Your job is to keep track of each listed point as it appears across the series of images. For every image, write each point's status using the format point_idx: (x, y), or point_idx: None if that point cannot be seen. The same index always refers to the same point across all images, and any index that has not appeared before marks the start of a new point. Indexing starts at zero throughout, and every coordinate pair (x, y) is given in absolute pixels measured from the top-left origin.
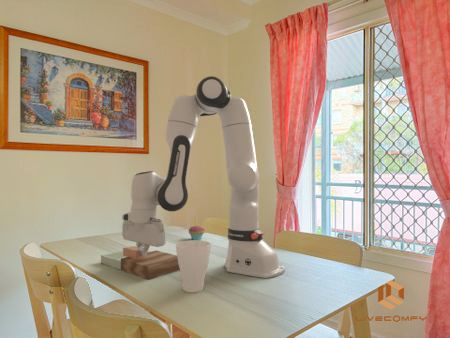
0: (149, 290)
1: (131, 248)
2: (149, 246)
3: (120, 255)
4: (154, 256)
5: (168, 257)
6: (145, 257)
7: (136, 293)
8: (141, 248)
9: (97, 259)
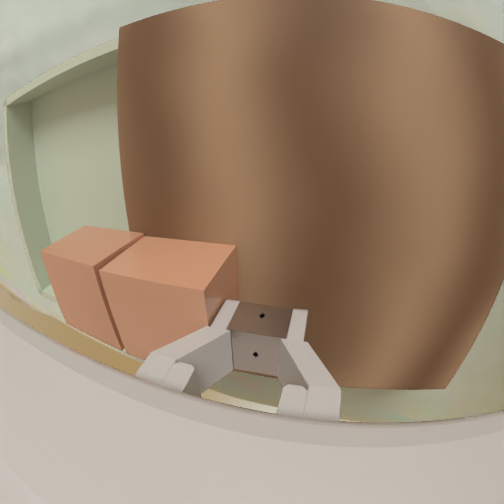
0: (476, 392)
1: (116, 335)
2: (338, 390)
3: (30, 196)
4: (293, 175)
5: (446, 123)
6: (251, 255)
7: (448, 417)
8: (217, 358)
9: None
